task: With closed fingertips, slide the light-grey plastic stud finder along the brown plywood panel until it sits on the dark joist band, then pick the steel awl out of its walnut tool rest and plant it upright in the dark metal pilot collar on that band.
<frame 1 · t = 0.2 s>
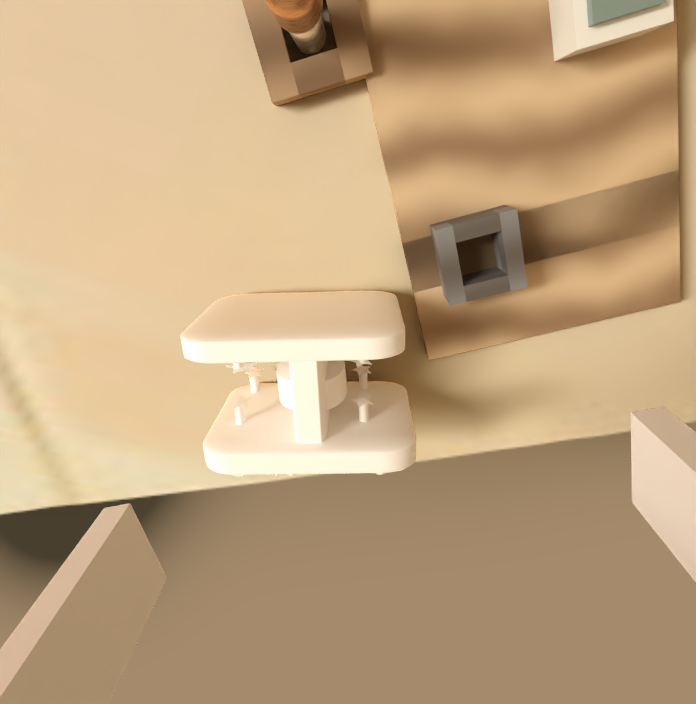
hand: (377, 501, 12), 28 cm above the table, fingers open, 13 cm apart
plywood panel: (522, 136, 34), on the table
cable organizer: (317, 346, 41), on the table
tool rest: (309, 35, 32), on the table
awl: (298, 6, 26), in the tool rest
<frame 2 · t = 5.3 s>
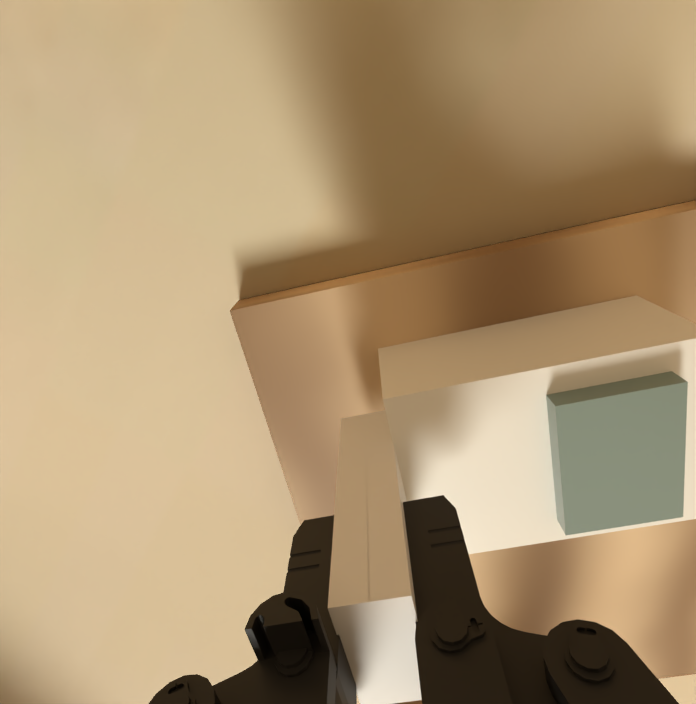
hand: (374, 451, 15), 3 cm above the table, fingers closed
plywood panel: (693, 466, 18), on the table
stud finder: (512, 399, 16), point 1 cm above the table, touching gripper
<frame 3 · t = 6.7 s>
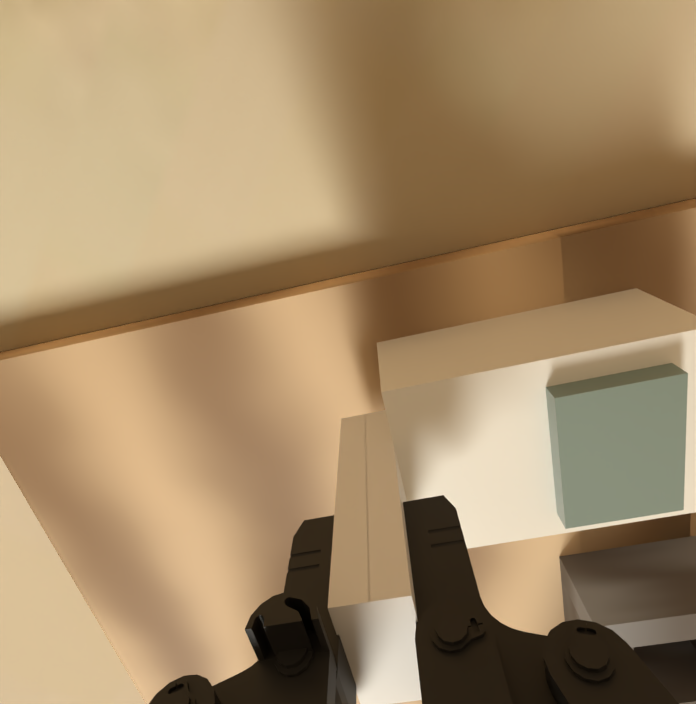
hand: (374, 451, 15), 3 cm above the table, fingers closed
plywood panel: (437, 508, 19), on the table
stud finder: (512, 393, 16), point 1 cm above the table, touching plywood panel
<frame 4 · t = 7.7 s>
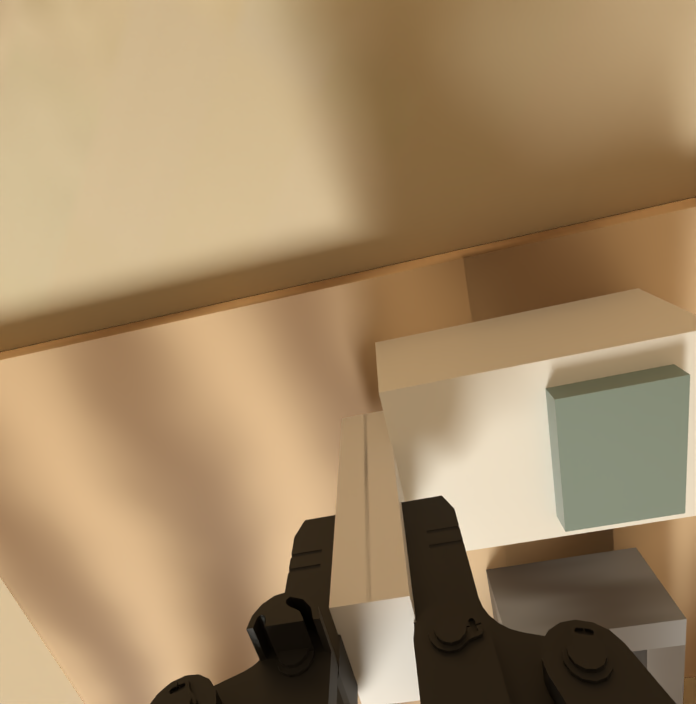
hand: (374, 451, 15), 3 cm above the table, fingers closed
plywood panel: (367, 521, 19), on the table
stud finder: (511, 394, 16), point 1 cm above the table, touching gripper, plywood panel
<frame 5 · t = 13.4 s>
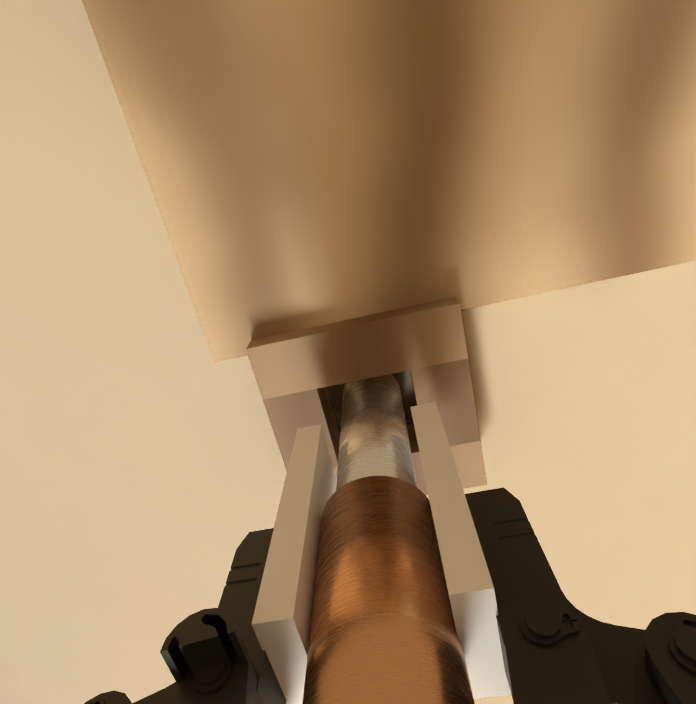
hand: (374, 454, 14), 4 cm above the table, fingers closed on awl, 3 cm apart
tool rest: (371, 393, 18), on the table
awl: (377, 508, 12), in the tool rest, touching gripper
when the fingers open (6 cm above the table, at t = 18.7 s): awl stays where it is, resting on plywood panel.
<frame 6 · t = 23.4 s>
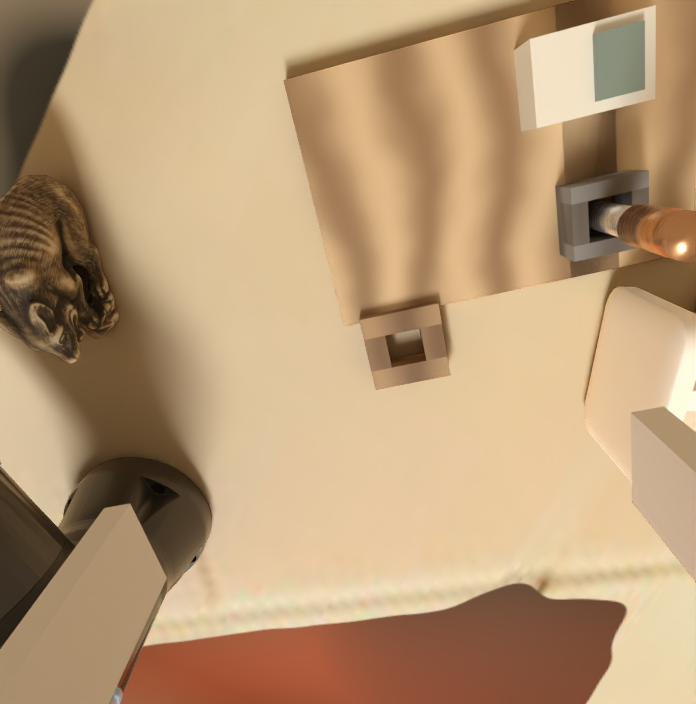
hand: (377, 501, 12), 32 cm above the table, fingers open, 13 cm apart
figurine: (79, 259, 43), on the table
plywood panel: (495, 170, 39), on the table
cable organizer: (645, 349, 45), on the table
tool rest: (404, 340, 45), on the table
stud finder: (572, 77, 35), point 1 cm above the table, touching plywood panel
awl: (634, 223, 33), in the plywood panel, point 8 cm above the table
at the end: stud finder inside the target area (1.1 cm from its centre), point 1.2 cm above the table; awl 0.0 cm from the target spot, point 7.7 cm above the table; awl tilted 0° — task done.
